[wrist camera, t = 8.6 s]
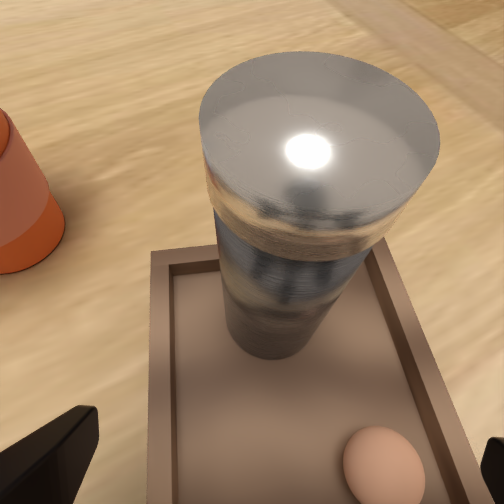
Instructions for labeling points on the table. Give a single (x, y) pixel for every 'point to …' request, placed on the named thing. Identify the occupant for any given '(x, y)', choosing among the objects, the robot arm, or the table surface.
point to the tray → (291, 394)
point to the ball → (383, 467)
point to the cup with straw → (24, 205)
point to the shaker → (305, 184)
